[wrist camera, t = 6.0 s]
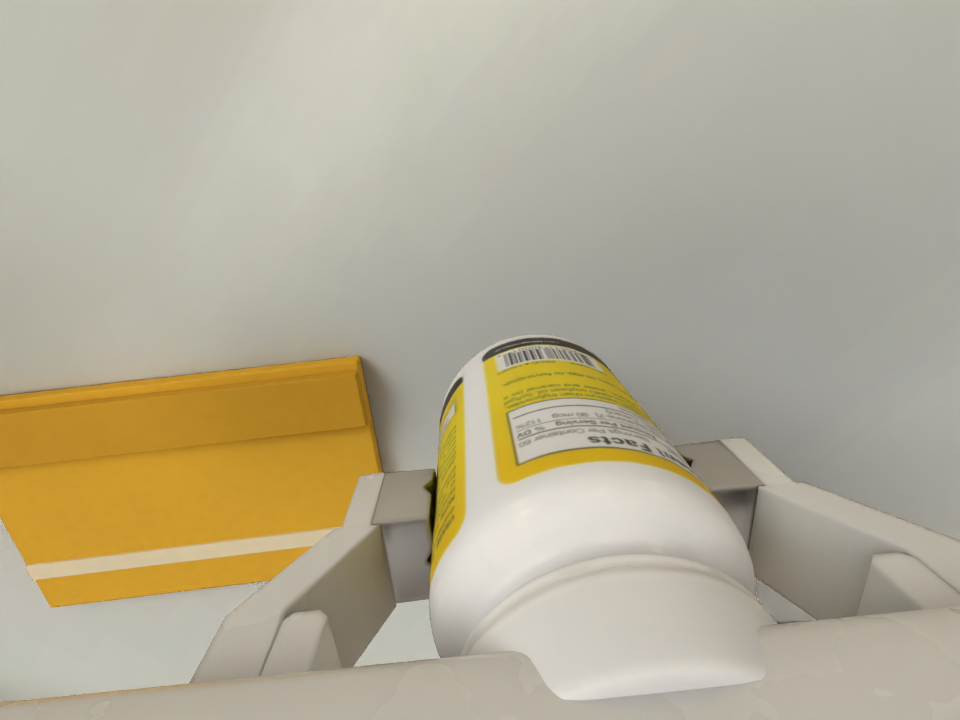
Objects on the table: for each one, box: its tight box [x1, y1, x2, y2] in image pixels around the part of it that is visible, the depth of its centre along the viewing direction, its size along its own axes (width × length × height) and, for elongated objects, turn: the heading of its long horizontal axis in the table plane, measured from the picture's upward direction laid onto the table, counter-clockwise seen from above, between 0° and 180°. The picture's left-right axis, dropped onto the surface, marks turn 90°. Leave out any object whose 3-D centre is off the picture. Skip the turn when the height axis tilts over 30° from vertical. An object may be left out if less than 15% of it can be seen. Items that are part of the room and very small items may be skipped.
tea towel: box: [0, 356, 383, 607], centre depth 17 cm, size 14×9×1 cm, turn 95°
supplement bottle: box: [429, 334, 777, 700], centre depth 9 cm, size 5×5×8 cm
